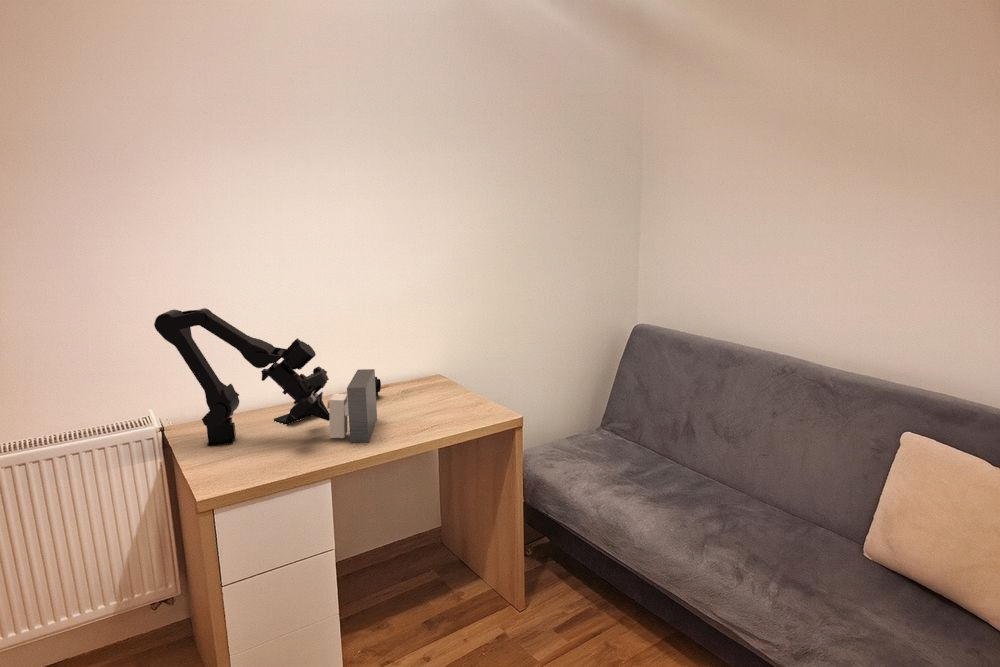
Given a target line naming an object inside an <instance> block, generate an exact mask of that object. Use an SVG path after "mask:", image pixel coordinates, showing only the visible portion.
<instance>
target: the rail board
mask: <svg viewBox="0 0 1000 667" xmlns="http://www.w3.org/2000/svg"><path fill="white" fill-rule="evenodd" d="M375 370H376V369H374V368H372V369H371V368H370V369H369V368H368V369H367V368H366V369H365V368H363V369H362V368H361V369H357V370H356V371H355V373H354V375H353V377H352V379H351V380H350V382H349V384H348V386H346V392H347V393H346V395H347V402H346V403H345V405H344V409H345V416H347V417H348V425H349V428H348V429H349V442H350V443H349V444H369V443H370V441H371V438H372V436H373V433H374V430H375V427H376V425H375V424H377V422H378V410H377V409H378V407H377V398H376V387H375V377H376V371H375Z"/></svg>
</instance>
